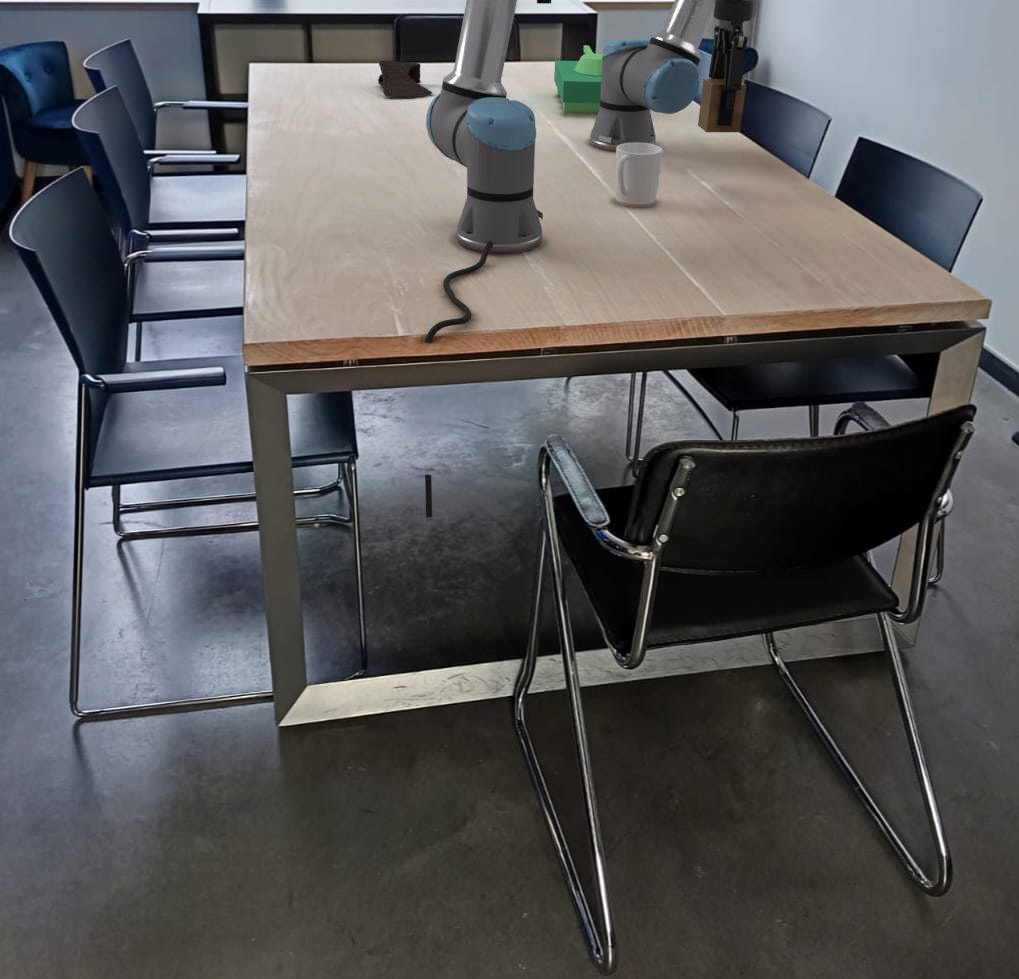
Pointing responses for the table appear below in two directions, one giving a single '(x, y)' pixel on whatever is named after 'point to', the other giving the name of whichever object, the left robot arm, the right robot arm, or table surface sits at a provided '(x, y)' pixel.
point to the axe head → (401, 79)
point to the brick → (712, 105)
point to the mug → (637, 174)
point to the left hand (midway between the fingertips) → (719, 121)
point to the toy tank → (580, 83)
